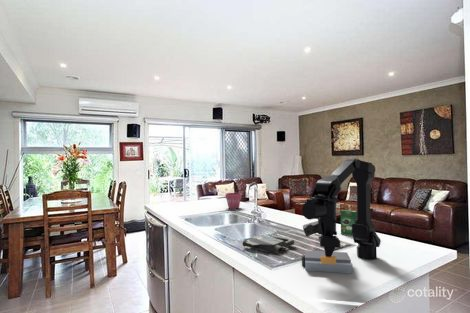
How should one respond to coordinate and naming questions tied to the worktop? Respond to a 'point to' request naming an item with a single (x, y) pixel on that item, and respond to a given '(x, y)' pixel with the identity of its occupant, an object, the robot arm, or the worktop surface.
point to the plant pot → (233, 200)
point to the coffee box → (347, 221)
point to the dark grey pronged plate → (269, 243)
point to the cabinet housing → (316, 255)
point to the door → (328, 265)
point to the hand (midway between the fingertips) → (327, 259)
